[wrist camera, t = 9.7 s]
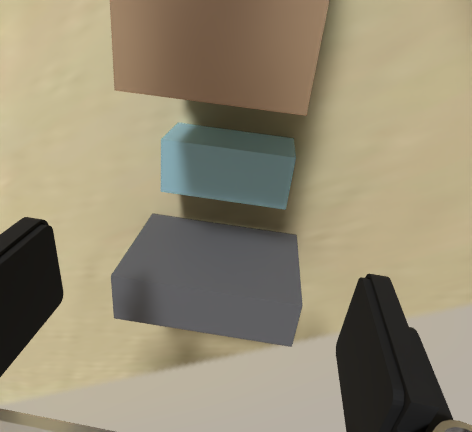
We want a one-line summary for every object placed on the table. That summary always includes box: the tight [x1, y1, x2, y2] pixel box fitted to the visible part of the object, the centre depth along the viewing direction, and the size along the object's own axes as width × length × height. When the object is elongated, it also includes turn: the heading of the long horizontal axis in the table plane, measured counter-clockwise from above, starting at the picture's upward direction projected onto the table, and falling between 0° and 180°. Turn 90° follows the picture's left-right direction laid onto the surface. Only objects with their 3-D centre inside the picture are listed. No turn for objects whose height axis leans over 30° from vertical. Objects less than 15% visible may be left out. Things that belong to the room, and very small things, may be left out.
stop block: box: [111, 214, 302, 347], centre depth 22 cm, size 10×3×7 cm, turn 84°
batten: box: [161, 123, 296, 210], centre depth 21 cm, size 7×3×4 cm, turn 84°
